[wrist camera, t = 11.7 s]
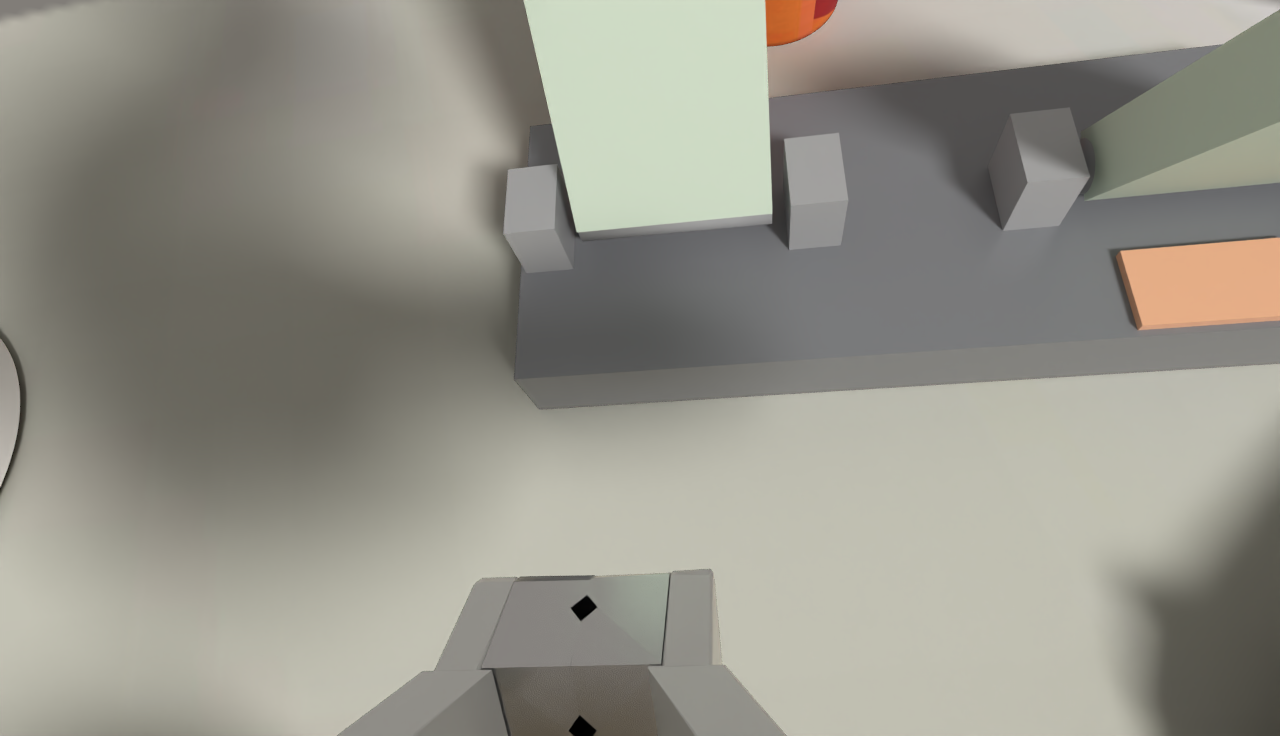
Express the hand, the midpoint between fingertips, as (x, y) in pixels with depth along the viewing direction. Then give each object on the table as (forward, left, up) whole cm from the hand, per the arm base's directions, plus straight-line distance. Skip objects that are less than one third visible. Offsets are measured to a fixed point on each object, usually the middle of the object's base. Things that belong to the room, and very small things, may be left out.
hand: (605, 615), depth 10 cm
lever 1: (0, +13, -10) cm, 16 cm away
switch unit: (+8, +13, -14) cm, 20 cm away
